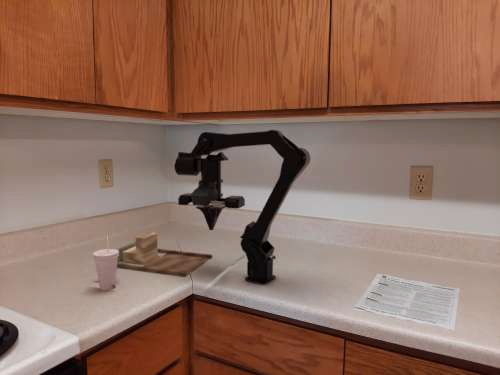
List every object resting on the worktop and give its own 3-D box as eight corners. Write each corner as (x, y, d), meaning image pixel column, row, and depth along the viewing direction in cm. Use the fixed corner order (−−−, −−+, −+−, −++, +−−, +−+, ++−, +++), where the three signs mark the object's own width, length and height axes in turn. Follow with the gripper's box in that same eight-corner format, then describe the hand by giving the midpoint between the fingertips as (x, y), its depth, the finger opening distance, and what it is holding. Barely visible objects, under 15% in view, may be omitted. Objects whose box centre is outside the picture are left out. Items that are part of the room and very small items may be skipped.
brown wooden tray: (212, 262, 117) (212, 245, 116) (184, 282, 100) (184, 262, 99) (143, 254, 125) (142, 238, 124) (107, 271, 108) (106, 253, 107)
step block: (157, 257, 117) (157, 232, 116) (144, 264, 110) (143, 238, 109) (136, 254, 119) (135, 230, 118) (122, 261, 113) (121, 236, 112)
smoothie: (124, 288, 96) (122, 236, 94) (100, 295, 91) (97, 240, 90) (114, 281, 100) (112, 231, 98) (90, 287, 96) (88, 235, 94)
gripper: (167, 177, 99) (168, 233, 101) (231, 180, 93) (231, 239, 95) (187, 174, 110) (187, 225, 111) (245, 176, 104) (245, 230, 105)
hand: (211, 229), depth 106 cm, fingers closed
